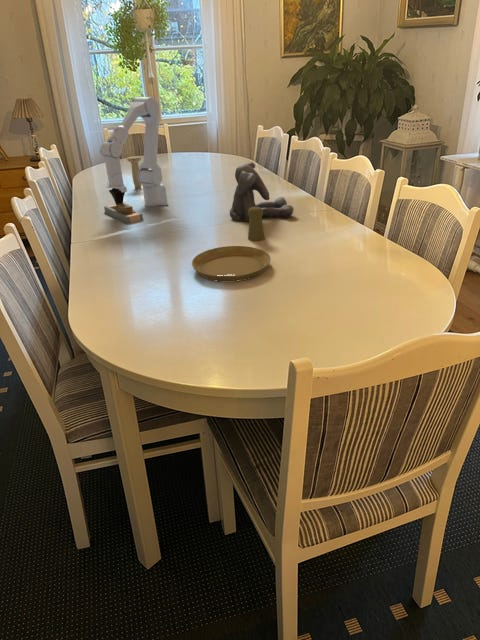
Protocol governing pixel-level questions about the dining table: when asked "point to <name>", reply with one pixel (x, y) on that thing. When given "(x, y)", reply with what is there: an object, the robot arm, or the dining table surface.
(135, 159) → the handle
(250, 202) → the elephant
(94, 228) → the dining table surface
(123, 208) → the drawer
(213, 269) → the plant saucer
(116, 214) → the rail
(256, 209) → the cork
